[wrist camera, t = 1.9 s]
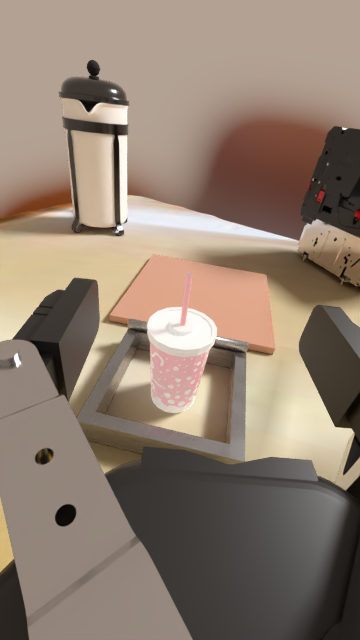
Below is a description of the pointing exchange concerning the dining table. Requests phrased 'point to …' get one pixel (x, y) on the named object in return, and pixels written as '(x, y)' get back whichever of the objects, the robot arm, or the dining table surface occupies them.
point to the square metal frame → (144, 435)
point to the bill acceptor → (335, 207)
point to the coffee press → (96, 149)
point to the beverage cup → (178, 353)
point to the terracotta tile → (203, 298)
